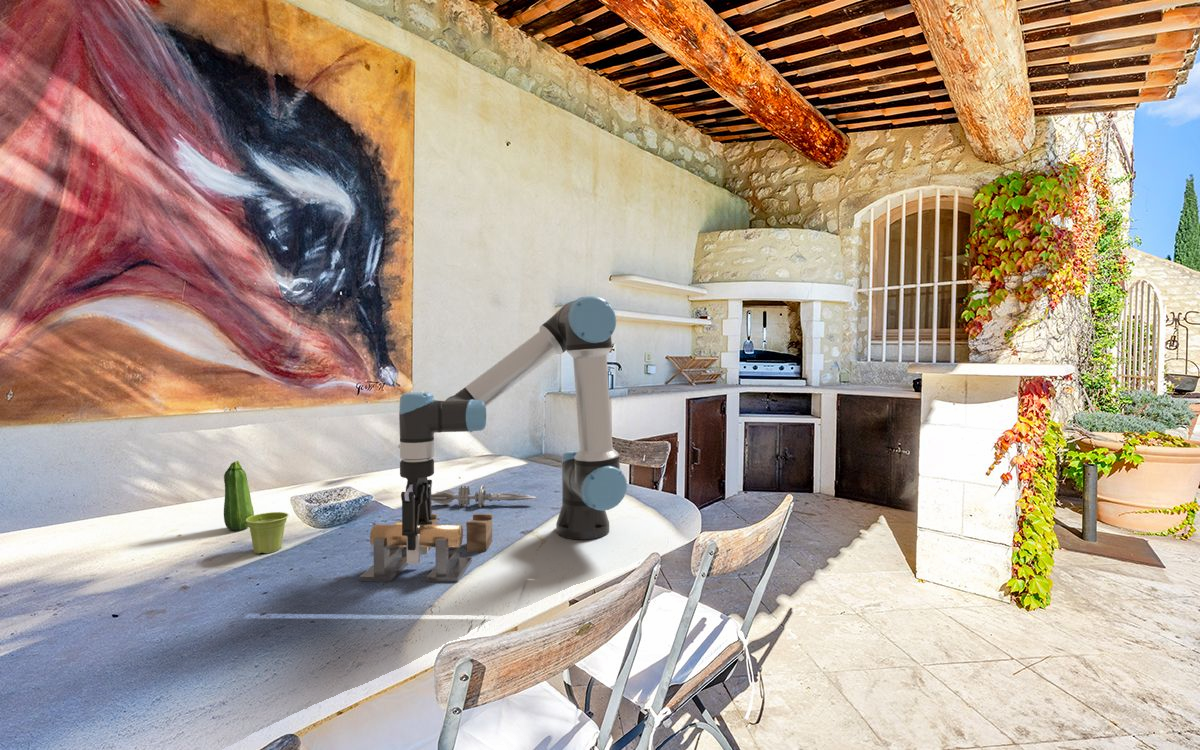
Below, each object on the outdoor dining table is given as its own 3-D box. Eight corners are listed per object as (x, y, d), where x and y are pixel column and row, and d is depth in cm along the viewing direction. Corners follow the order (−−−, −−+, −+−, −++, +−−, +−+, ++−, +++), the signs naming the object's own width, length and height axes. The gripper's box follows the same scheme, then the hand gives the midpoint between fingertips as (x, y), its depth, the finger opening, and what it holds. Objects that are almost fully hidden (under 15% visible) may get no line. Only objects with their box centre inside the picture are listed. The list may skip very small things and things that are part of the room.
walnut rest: (492, 542, 144) (492, 513, 144) (485, 552, 136) (485, 522, 136) (419, 541, 144) (418, 513, 144) (408, 551, 137) (408, 522, 136)
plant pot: (278, 541, 145) (278, 509, 144) (295, 548, 139) (295, 515, 139) (240, 551, 137) (239, 518, 137) (256, 559, 132) (255, 524, 131)
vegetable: (241, 534, 151) (240, 463, 150) (217, 533, 151) (215, 463, 151) (259, 526, 158) (258, 459, 157) (236, 525, 158) (235, 458, 158)
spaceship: (534, 512, 172) (534, 488, 172) (426, 512, 172) (425, 488, 172) (537, 505, 180) (537, 482, 180) (433, 505, 180) (433, 482, 180)
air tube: (463, 543, 126) (462, 521, 126) (456, 550, 121) (456, 528, 121) (379, 542, 127) (379, 521, 127) (369, 550, 122) (369, 527, 122)
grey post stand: (471, 561, 130) (471, 524, 130) (457, 581, 118) (457, 541, 118) (382, 560, 130) (382, 524, 130) (359, 581, 118) (358, 541, 118)
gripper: (415, 452, 133) (416, 544, 133) (384, 466, 115) (385, 573, 115) (445, 452, 132) (445, 544, 133) (419, 466, 114) (419, 573, 115)
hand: (417, 557), depth 124 cm, fingers closed on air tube, 5 cm apart
